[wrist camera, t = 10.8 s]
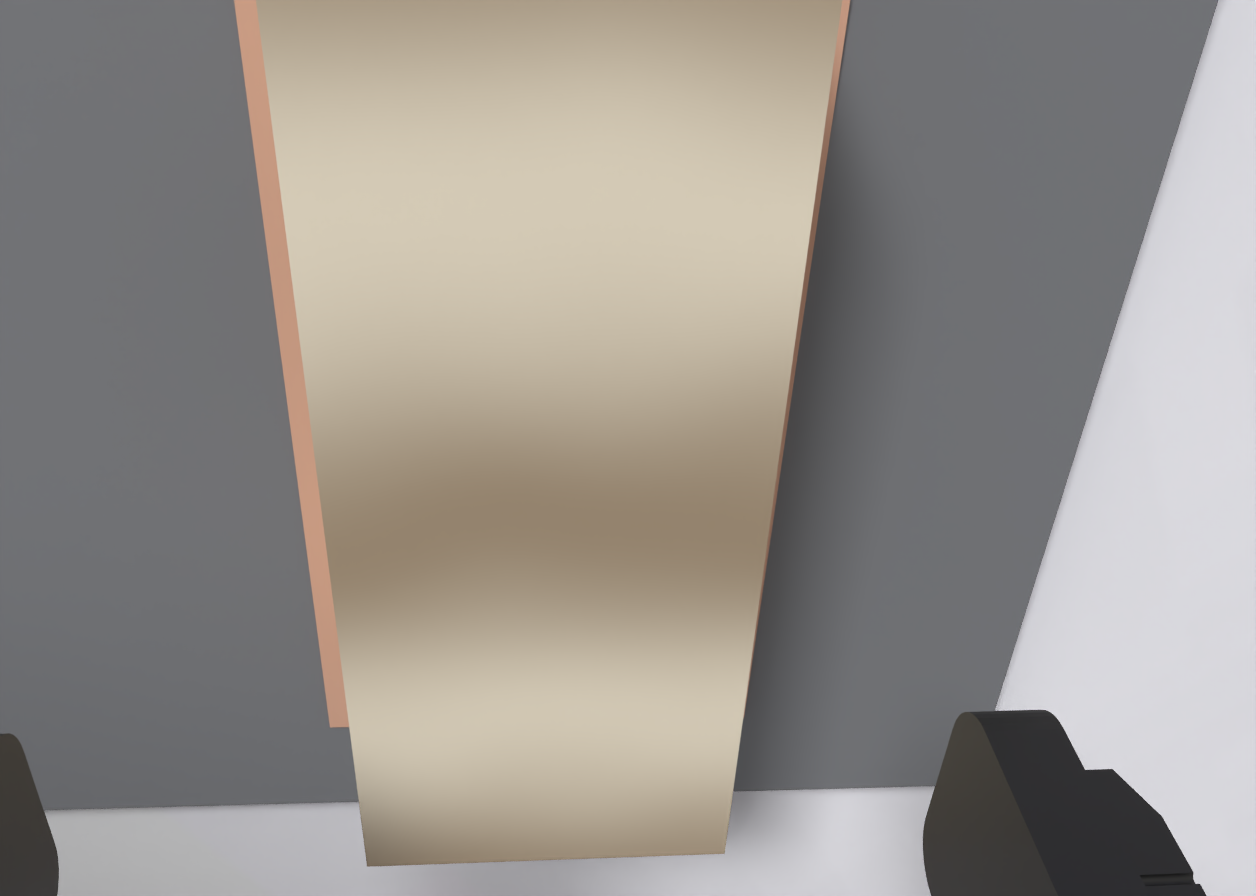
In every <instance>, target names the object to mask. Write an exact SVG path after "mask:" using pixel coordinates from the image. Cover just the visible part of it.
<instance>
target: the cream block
mask: <svg viewBox="0 0 1256 896" xmlns="http://www.w3.org/2000/svg"><path fill="white" fill-rule="evenodd" d="M256 5H257V13H258V21H259V28H260V36H261V44H262V52H263V60H264V67H265V75H266V83H267V91H268V98H269V106H270V114H271V122H272V130H273V137H274V145H275V153H276V161H277V169H278V176H279V184H280V192H281V200H282V207H283V215H284V223H285V231H286V239H287V246H288V254H289V262H290V270H291V277H292V285H293V293H294V301H295V309H296V316H297V324H298V332H299V340H300V347H301V355H302V363H303V371H304V379H305V386H306V394H307V402H308V410H309V418H310V425H311V433H312V441H313V449H314V456H315V464H316V472H317V480H318V488H319V495H320V503H321V511H322V519H323V526H324V534H325V542H326V550H327V558H328V565H329V573H330V581H331V589H332V596H333V604H334V612H335V620H336V628H337V635H338V643H339V651H340V659H341V666H342V674H343V682H344V690H345V698H346V705H347V713H348V721H349V729H350V737H351V744H352V752H353V760H354V768H355V775H356V783H357V791H358V799H359V807H360V814H361V822H362V830H363V838H364V845H365V853H366V861H367V866H395V865H423V864H450V863H478V862H506V861H533V860H561V859H588V858H616V857H644V856H671V855H699V854H724V853H725V846H726V839H727V832H728V825H729V817H730V810H731V803H732V796H733V788H734V781H735V774H736V767H737V759H738V752H739V745H740V738H741V730H742V723H743V716H744V709H745V701H746V694H747V687H748V680H749V672H750V665H751V658H752V651H753V643H754V636H755V629H756V622H757V614H758V607H759V600H760V593H761V586H762V578H763V571H764V564H765V557H766V549H767V542H768V535H769V528H770V520H771V513H772V506H773V499H774V491H775V484H776V477H777V470H778V462H779V455H780V448H781V441H782V433H783V426H784V419H785V412H786V404H787V397H788V390H789V383H790V375H791V368H792V361H793V354H794V346H795V339H796V332H797V325H798V318H799V310H800V303H801V296H802V289H803V281H804V274H805V267H806V260H807V252H808V245H809V238H810V231H811V223H812V216H813V209H814V202H815V194H816V187H817V180H818V173H819V165H820V158H821V151H822V144H823V136H824V129H825V122H826V115H827V107H828V100H829V93H830V86H831V79H832V71H833V64H834V57H835V50H836V42H837V35H838V28H839V21H840V13H841V6H842V0H256Z"/></svg>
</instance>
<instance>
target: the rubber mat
mask: <svg viewBox="0 0 1256 896" xmlns="http://www.w3.org/2000/svg"><path fill="white" fill-rule="evenodd" d="M1217 3H1218V0H842V6H841V13H840V21H839V28H838V35H837V42H836V50H835V57H834V64H833V71H832V79H831V86H830V93H829V100H828V107H827V115H826V122H825V129H824V136H823V144H822V151H821V158H820V165H819V173H818V180H817V187H816V194H815V202H814V209H813V216H812V223H811V231H810V238H809V245H808V252H807V260H806V267H805V274H804V281H803V289H802V296H801V303H800V310H799V318H798V325H797V332H796V339H795V346H794V354H793V361H792V368H791V375H790V383H789V390H788V397H787V404H786V412H785V419H784V426H783V433H782V441H781V448H780V455H779V462H778V470H777V477H776V484H775V491H774V499H773V506H772V513H771V520H770V528H769V535H768V542H767V549H766V557H765V564H764V571H763V578H762V586H761V593H760V600H759V607H758V614H757V622H756V629H755V636H754V643H753V651H752V658H751V665H750V672H749V680H748V687H747V694H746V701H745V709H744V716H743V723H742V730H741V738H740V745H739V752H738V759H737V767H736V774H735V781H734V788H733V791H765V790H802V789H839V788H875V787H912V786H936V782H937V779H938V776H939V772H940V769H941V766H942V762H943V759H944V756H945V752H946V749H947V746H948V742H949V739H950V736H951V733H952V729H953V726H954V724H955V721H956V719H957V718H958V716H959V715H960V714H961V713H964V712H979V711H994V710H995V707H996V704H997V701H998V698H999V695H1000V691H1001V688H1002V685H1003V682H1004V679H1005V676H1006V672H1007V669H1008V666H1009V663H1010V660H1011V657H1012V653H1013V650H1014V647H1015V644H1016V641H1017V637H1018V634H1019V631H1020V628H1021V625H1022V622H1023V618H1024V615H1025V612H1026V609H1027V606H1028V603H1029V599H1030V596H1031V593H1032V590H1033V587H1034V584H1035V580H1036V577H1037V574H1038V571H1039V568H1040V564H1041V561H1042V558H1043V555H1044V552H1045V549H1046V545H1047V542H1048V539H1049V536H1050V533H1051V530H1052V526H1053V523H1054V520H1055V517H1056V514H1057V511H1058V507H1059V504H1060V501H1061V498H1062V495H1063V492H1064V488H1065V485H1066V482H1067V479H1068V476H1069V472H1070V469H1071V466H1072V463H1073V460H1074V457H1075V453H1076V450H1077V447H1078V444H1079V441H1080V438H1081V434H1082V431H1083V428H1084V425H1085V422H1086V419H1087V415H1088V412H1089V409H1090V406H1091V403H1092V399H1093V396H1094V393H1095V390H1096V387H1097V384H1098V380H1099V377H1100V374H1101V371H1102V368H1103V365H1104V361H1105V358H1106V355H1107V352H1108V349H1109V346H1110V342H1111V339H1112V336H1113V333H1114V330H1115V327H1116V323H1117V320H1118V317H1119V314H1120V311H1121V307H1122V304H1123V301H1124V298H1125V295H1126V292H1127V288H1128V285H1129V282H1130V279H1131V276H1132V273H1133V269H1134V266H1135V263H1136V260H1137V257H1138V254H1139V250H1140V247H1141V244H1142V241H1143V238H1144V234H1145V231H1146V228H1147V225H1148V222H1149V219H1150V215H1151V212H1152V209H1153V206H1154V203H1155V200H1156V196H1157V193H1158V190H1159V187H1160V184H1161V181H1162V177H1163V174H1164V171H1165V168H1166V165H1167V161H1168V158H1169V155H1170V152H1171V149H1172V146H1173V142H1174V139H1175V136H1176V133H1177V130H1178V127H1179V123H1180V120H1181V117H1182V114H1183V111H1184V108H1185V104H1186V101H1187V98H1188V95H1189V92H1190V89H1191V85H1192V82H1193V79H1194V76H1195V73H1196V69H1197V66H1198V63H1199V60H1200V57H1201V54H1202V50H1203V47H1204V44H1205V41H1206V38H1207V35H1208V31H1209V28H1210V25H1211V22H1212V19H1213V16H1214V12H1215V9H1216V6H1217ZM3 733H10V734H13V735H14V736H15V737H17V739H18V740H19V742H20V743H21V745H22V748H23V750H24V753H25V756H26V759H27V762H28V765H29V768H30V771H31V774H32V777H33V780H34V783H35V786H36V789H37V792H38V795H39V798H40V801H41V804H42V807H43V810H66V809H103V808H139V807H176V806H213V805H250V804H287V803H323V802H359V799H358V791H357V783H356V775H355V768H354V760H353V752H352V744H351V737H350V729H349V721H348V713H347V705H346V698H345V690H344V682H343V674H342V666H341V659H340V651H339V643H338V635H337V628H336V620H335V612H334V604H333V596H332V589H331V581H330V573H329V565H328V558H327V550H326V542H325V534H324V526H323V519H322V511H321V503H320V495H319V488H318V480H317V472H316V464H315V456H314V449H313V441H312V433H311V425H310V418H309V410H308V402H307V394H306V386H305V379H304V371H303V363H302V355H301V347H300V340H299V332H298V324H297V316H296V309H295V301H294V293H293V285H292V277H291V270H290V262H289V254H288V246H287V239H286V231H285V223H284V215H283V207H282V200H281V192H280V184H279V176H278V169H277V161H276V153H275V145H274V137H273V130H272V122H271V114H270V106H269V98H268V91H267V83H266V75H265V67H264V60H263V52H262V44H261V36H260V28H259V21H258V13H257V5H256V0H0V734H3Z"/></svg>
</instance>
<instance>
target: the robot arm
mask: <svg viewBox="0 0 1256 896" xmlns="http://www.w3.org/2000/svg"><path fill="white" fill-rule="evenodd" d="M923 855H924V865H925V871H926V877H927V882H928V886H929V889H930V893H931V896H1206V894H1205V892H1204V890H1203V889H1202V887H1201V885H1200V884H1195V882H1194V880H1193V871H1192V869H1191V867H1190V866H1189V864H1188V862H1187V860H1186V858H1185V857H1184V855H1183V853H1182V851H1181V850H1180V848H1179V846H1178V844H1177V843H1176V841H1175V839H1174V837H1173V835H1172V834H1171V832H1170V830H1169V828H1168V827H1167V825H1166V823H1165V821H1164V819H1163V818H1162V816H1161V815H1160V814H1159V813H1158V812H1157V811H1155V810H1154V809H1153V808H1152V807H1151V806H1150V805H1149V804H1148V803H1147V802H1146V801H1145V800H1144V799H1143V798H1142V797H1141V796H1140V795H1139V794H1138V793H1137V792H1136V791H1135V790H1134V789H1132V788H1131V787H1130V786H1129V785H1128V784H1127V783H1126V782H1125V781H1124V780H1123V779H1122V778H1121V777H1120V776H1119V775H1118V774H1117V773H1116V772H1115V771H1114V770H1113V769H1103V770H1085V769H1084V767H1083V765H1082V763H1081V761H1080V760H1079V758H1078V756H1077V754H1076V752H1075V750H1074V748H1073V746H1072V744H1071V742H1070V740H1069V738H1068V736H1067V734H1066V733H1065V731H1064V729H1063V727H1062V725H1061V724H1060V722H1059V721H1058V719H1057V718H1056V717H1055V716H1054V715H1053V714H1052V713H1050V712H1048V711H1046V710H1017V711H979V712H964V713H961V714H960V715H959V716H958V718H957V719H956V721H955V724H954V726H953V729H952V733H951V736H950V739H949V742H948V746H947V749H946V752H945V756H944V759H943V762H942V766H941V769H940V772H939V776H938V779H937V782H936V786H935V789H934V792H933V795H932V799H931V802H930V805H929V809H928V812H927V815H926V819H925V824H924V831H923ZM58 880H59V867H58V856H57V850H56V846H55V843H54V840H53V837H52V834H51V831H50V828H49V825H48V822H47V819H46V816H45V813H44V810H43V807H42V804H41V801H40V798H39V795H38V792H37V789H36V786H35V783H34V780H33V777H32V774H31V771H30V768H29V765H28V762H27V759H26V756H25V753H24V750H23V748H22V745H21V743H20V742H19V740H18V739H17V737H15V736H14V735H13V734H10V733H3V734H0V896H57V892H58Z"/></svg>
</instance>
